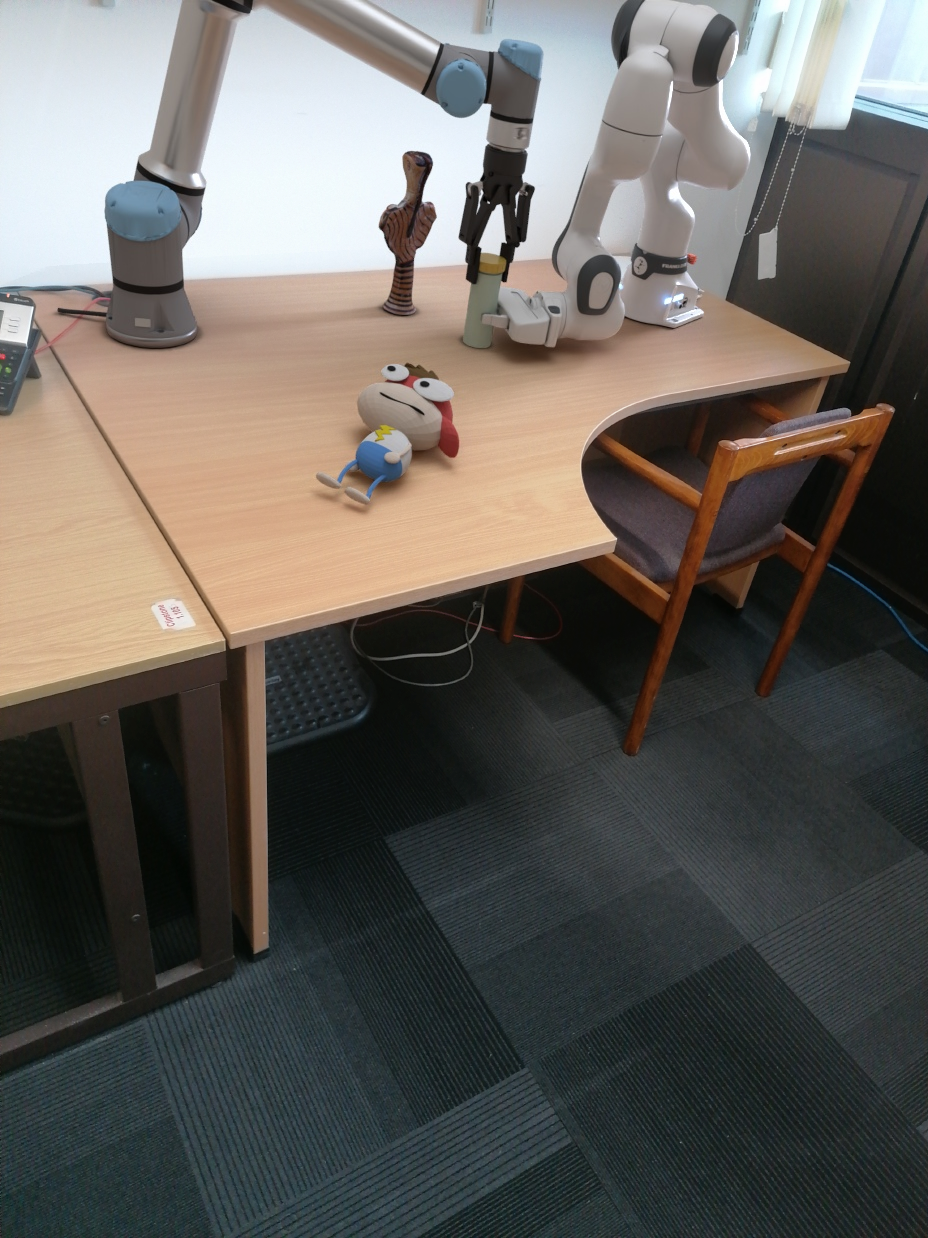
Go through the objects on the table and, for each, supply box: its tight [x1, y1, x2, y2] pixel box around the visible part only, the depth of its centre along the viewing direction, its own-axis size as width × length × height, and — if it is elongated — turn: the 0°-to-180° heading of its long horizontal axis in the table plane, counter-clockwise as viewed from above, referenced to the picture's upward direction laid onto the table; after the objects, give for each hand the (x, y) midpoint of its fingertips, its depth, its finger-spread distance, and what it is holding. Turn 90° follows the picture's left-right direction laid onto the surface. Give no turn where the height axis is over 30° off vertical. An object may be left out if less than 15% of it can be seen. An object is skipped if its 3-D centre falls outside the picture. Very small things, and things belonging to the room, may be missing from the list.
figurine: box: [378, 150, 438, 316], centre depth 174 cm, size 15×8×30 cm, turn 144°
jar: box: [462, 270, 502, 349], centre depth 171 cm, size 6×6×16 cm
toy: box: [315, 362, 460, 505], centre depth 132 cm, size 18×10×30 cm
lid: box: [479, 252, 506, 273], centre depth 166 cm, size 6×6×2 cm
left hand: (486, 280), depth 168 cm, fingers closed on lid, 6 cm apart
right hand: (477, 311), depth 172 cm, fingers closed on jar, 5 cm apart
